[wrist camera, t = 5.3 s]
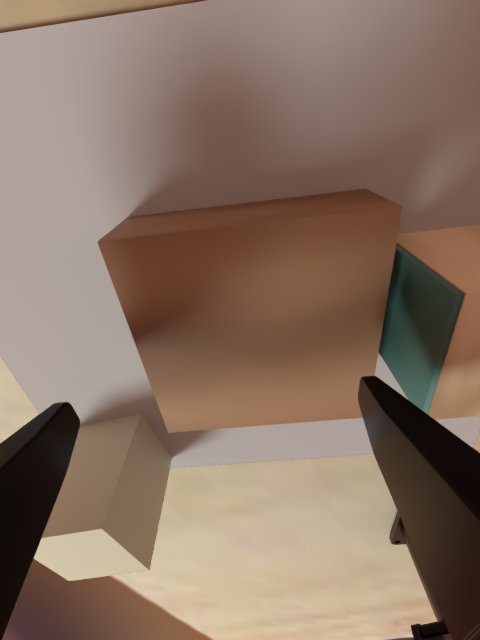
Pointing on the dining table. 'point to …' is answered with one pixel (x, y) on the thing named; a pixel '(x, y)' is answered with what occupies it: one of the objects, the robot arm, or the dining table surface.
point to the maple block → (436, 321)
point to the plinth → (257, 305)
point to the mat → (215, 170)
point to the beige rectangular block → (108, 502)
